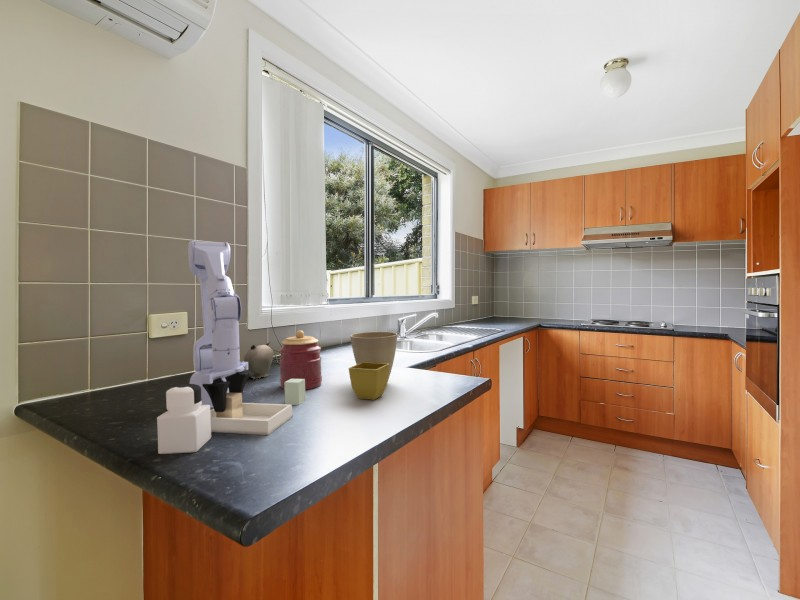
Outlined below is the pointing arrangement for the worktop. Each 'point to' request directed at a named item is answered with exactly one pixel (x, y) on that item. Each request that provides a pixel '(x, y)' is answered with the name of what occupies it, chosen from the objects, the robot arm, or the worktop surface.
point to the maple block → (232, 406)
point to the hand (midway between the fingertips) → (227, 407)
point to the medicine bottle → (183, 421)
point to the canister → (300, 360)
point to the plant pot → (374, 347)
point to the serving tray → (253, 419)
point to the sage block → (294, 391)
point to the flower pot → (369, 379)
